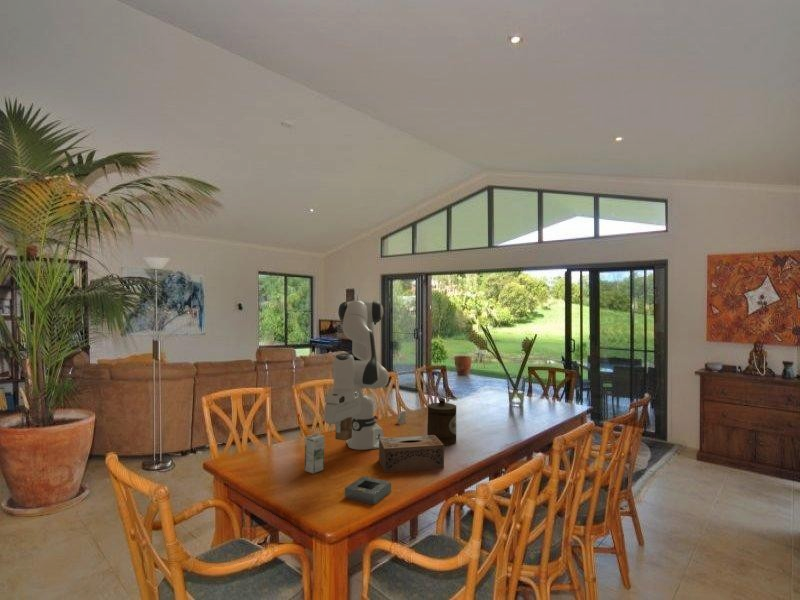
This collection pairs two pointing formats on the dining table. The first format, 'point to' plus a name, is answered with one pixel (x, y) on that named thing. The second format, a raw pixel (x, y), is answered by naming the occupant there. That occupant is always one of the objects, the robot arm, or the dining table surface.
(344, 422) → the brown block with knob
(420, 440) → the tissue box cover
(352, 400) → the robot arm
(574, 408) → the dining table surface
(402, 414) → the architectural model
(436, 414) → the wooden container
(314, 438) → the syrup box
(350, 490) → the grey square socket base
